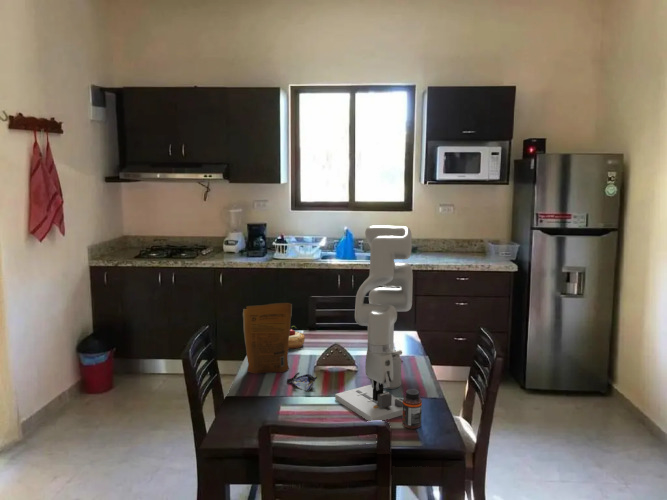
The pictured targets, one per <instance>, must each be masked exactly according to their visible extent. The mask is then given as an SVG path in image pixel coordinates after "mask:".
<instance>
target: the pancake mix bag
mask: <svg viewBox="0 0 667 500" xmlns="http://www.w3.org/2000/svg"><path fill="white" fill-rule="evenodd" d="M292 311H293V303H290V302H275V303H268V304H261V305H259V304H258V305H246V306H245V308H243V310H242V320H243V324H242V325H243V326H242V327H243V335H244V345H245V350H246V351H245V352H246V357H247V363H248V366H247V372H248V373H251V374H256V375H257V374H258V375H259V374H271V373H284V372H286V371H288V370H289V369H290V366H289V362H288V361H289V360H288V353H289V349H288V340H289V334H290V329H291V324H292V323H291V319H292V316H293V315H292Z"/></svg>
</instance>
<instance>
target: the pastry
mask: <svg viewBox="0 0 667 500" xmlns="http://www.w3.org/2000/svg"><path fill="white" fill-rule="evenodd" d="M293 327H294V328H295V329H297V327H296V326H295V325H292V326H291V328H290V334H289V340H288V350H294V349H298V348H299V349H300V348H301V347H303V345H304V343H305V339H306V336H305V335H304V333H302V332H299V331H296V330H294V329H293Z"/></svg>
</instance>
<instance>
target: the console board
mask: <svg viewBox="0 0 667 500" xmlns="http://www.w3.org/2000/svg"><path fill="white" fill-rule="evenodd" d="M373 389H374V388H372V383H371V384H368V385H364V386H359V387H356V388H353V389H349V390H345V391H341V392H339V393H335V394H334V395H335V396H334V397H335V399H334V400H335V401H337V402H338V403H340V404H341V405H343V406H345V407H346V408H348V409H349V410H351V411H353V412H354V413H355V414H357V415H358V416H360V417H361V416H362V417H361V418H363V419H364V418H365V419H364V420H366V421H367V420H368V422H369V421H371V420H385V421H387V420H386V419H388V420H391V419H394V418H397V417H400V416H403V398H398V397H395V396H394V395H392V404H391V406H389V407H385V408H380V407H379V406H377V403H378V401H375V400H373ZM385 392H386V391H385V390H383V393H385Z"/></svg>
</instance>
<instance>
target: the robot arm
mask: <svg viewBox="0 0 667 500" xmlns="http://www.w3.org/2000/svg"><path fill="white" fill-rule="evenodd" d="M364 234H365V235H364V236H365V240H366V242H367V244H368V246H369V248H370V251H369V252H370V253H369V254H370V255H369V275H368V277H367V278H366V279H365V280H364V281H363V283H362V284H361V285H360V286H359V288H358V290H357V291H356V295H355V304H354V305H355V306H354V307H355V308H354V320H355V322H356V324H358V325H359V326H362V327H364V326H365V327H367V350H366V355H365V369H364V371H365V375H366V377H367V379H368V380H369V381H370V383H371V384H372V388H374V389H373V400H375V401H378V394H381V393H383V391H384V389H388V387H390V385H389V381H390V382H392V381H393V361H392V355H391V353H397V354H399V355H400V356H402V355H403V350H402V349H399V350H396V349H394V339H395V338H394V335H395V333H394V332H395V331H394V330H395V323H396V322H397V319H398V312H405V313H406V312H409V311H410V310H411V309H412V305H413V288H414V287H413V281H414V280H413V277H414V275H413V268H412V266H411V264H408V263H406V262H395V260H408V259H409V258H410V257H411V255H412V248H413V247H412V246H413V245H412V237H413V236H412V230H411V229H410V227H409V226H406V225H405V226H404V225H370V226H368V227H367V228H366V229H365V232H364ZM367 294H368V302H369V303H364V301H365V297H366V295H367Z"/></svg>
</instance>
